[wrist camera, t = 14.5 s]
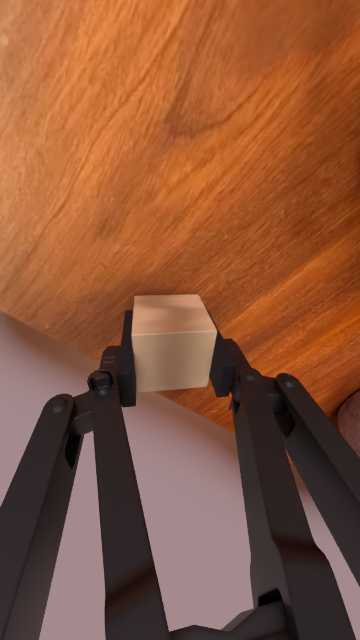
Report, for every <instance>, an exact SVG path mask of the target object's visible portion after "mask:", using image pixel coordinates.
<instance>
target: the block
mask: <svg viewBox="0 0 360 640" xmlns="http://www.w3.org/2000/svg"><path fill="white" fill-rule="evenodd" d="M216 335H217V329H216V327H215V325H214V323H213V321H212V320H211V318H210V316H209V314H208V312H207V310H206V308H205V306H204V304H203V302H202V300H201V298H200V297H199V295H198V294H193V295H149V296H134V308H133V321H132V334H131V336H132V346H133V353H134V363H135V373H136V386H137V393H144V392H154V391H165V390H175V389H186V388H196V387H207V385H208V380H209V374H210V368H211V363H212V357H213V351H214V346H215V341H216Z"/></svg>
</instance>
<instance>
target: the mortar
mask: <svg viewBox="0 0 360 640" xmlns="http://www.w3.org/2000/svg"><path fill="white" fill-rule="evenodd" d="M337 420H338V427H339V432H340V433H341V435H342V436H343V437H344V439H345V440H346V441H347V442H348V444H349V445H350V446H351V447H352V449H353V450H354V451H355V452H356V454H357V455H358V456H359V457H360V390H359V391H358V392H356V393H355V394H353V395H352V396H351V397H350V398H349V399H347V400H346V401H345V402H344V403H343V405H342V406H341V407H340V409H339V411H338V416H337Z"/></svg>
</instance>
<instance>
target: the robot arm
mask: <svg viewBox="0 0 360 640" xmlns="http://www.w3.org/2000/svg"><path fill="white" fill-rule="evenodd" d="M206 310H207V308H206ZM207 312H208V310H207ZM208 314H209V316H210V318H211V320H212V321H213V319H212V317H211V315H210V313H209V312H208ZM132 321H133V310H129V311H125V319H124V326H123V333H122V341H121V346H108V347H107V348H106V349H105V350H104V352H103V355H102V359H101V364H100V368H99V370H96V371H94V372H93V373H91V374H90V376H89V377H88V381H87V382H88V386H89V391H88V392H86V393H84V394H81V395H78V396H75V397H72V396H71V395H69V394H59V395H56V396H55V397H53V398H51V399H50V400H49V401H48V402H47V403H46V405H45V406H44V408H43V410H42V413H41V415H40V417H39V419H38V422H37V424H36V426H35V429H34V431H33V433H32V436H31V438H30V440H29V443H28V445H27V447H26V450H25V452H24V454H23V456H22V459H21V461H20V463H19V466H18V468H17V470H16V473H15V475H14V477H13V480H12V482H11V484H10V487H9V489H8V491H7V494H6V496H5V498H4V500H3V503H2V505H1V507H0V640H39V636H40V632H41V627H42V622H43V618H44V614H45V609H46V605H47V600H48V596H49V591H50V587H51V582H52V578H53V573H54V568H55V564H56V559H57V555H58V550H59V546H60V541H61V537H62V532H63V528H64V523H65V519H66V514H67V510H68V505H69V501H70V496H71V492H72V487H73V483H74V478H75V474H76V469H77V465H78V460H79V455H80V451H81V447H82V442H83V438H84V434H86V433H88V432H90V431H93V433H94V447H95V460H96V473H97V485H98V499H99V512H100V525H101V538H102V551H103V565H104V577H105V595H106V596H105V635H106V640H356V638H355V635H354V632H353V629H352V626H351V623H350V620H349V617H348V614H347V611H346V608H345V605H344V602H343V599H342V596H341V593H340V591H339V588H338V585H337V582H336V579H335V576H334V573H333V571H332V568H331V566H330V563H329V561H328V559H327V558H326V556H325V554H324V553H323V552H322V551H321V550H320V549H319V548H318V547H317V545H316V544H315V542H314V540H313V537H312V534H311V531H310V528H309V525H308V521H307V518H306V515H305V512H304V509H303V505H302V502H301V499H300V496H299V492H298V489H297V486H296V483H295V480H294V476H293V473H292V470H291V467H290V464H289V460H288V457H287V454H286V451H285V448H286V450H287V452H288V454H289V456H290V458H291V460H292V461H293V463H294V465H295V467H296V469H297V471H298V472H299V474H300V476H301V478H302V480H303V482H304V484H305V486H306V487H307V489H308V491H309V493H310V495H311V497H312V499H313V501H314V502H315V504H316V506H317V508H318V510H319V512H320V514H321V516H322V517H323V519H324V521H325V523H326V525H327V527H328V528H329V530H330V532H331V534H332V536H333V538H334V540H335V542H336V544H337V545H338V547H339V549H340V551H341V553H342V555H343V557H344V558H345V560H346V562H347V564H348V566H349V568H350V570H351V572H352V573H353V575H354V577H355V579H356V581H357V583H358V585H359V586H360V457H359V456H358V455H357V454H356V452H355V451H354V450H353V449H352V447H351V446H350V445H349V444H348V442H347V441H346V440H345V439H344V437H343V436H342V435H341V433H340V432H339V431H338V430H337V428H336V427H335V426H334V425H333V423H332V422H331V421H330V420H329V418H328V417H327V416H326V415H325V413H324V412H323V411H322V409H321V408H320V407H319V406H318V404H317V403H316V402H315V401H314V399H313V398H312V397H311V396H310V394H309V393H308V392H307V391H306V389H305V388H304V387H303V385H302V384H301V383H300V382H299V381H298V380H297V379H296V378H295V377H294V376H292V375H290V374H287V373H281V374H278V375H277V377H276V378H271V377H265V376H262V375H261V373H260V372H258V371H257V370H255V369H254V368H251V366H250V365H249V363H248V361H247V360H246V358H245V356H244V355H243V353H242V351H241V350H240V349H239V346H238V345H237V343H236V342H235V341H233V340H232V339H223V338H222V336H221V334H220V332H219V330H218V329H217V327H216V325H215V323H214V321H213V323H214V325H215V327H216V329H217V335H216V341H215V346H214V351H213V357H212V363H211V368H210V374H209V377H210V379H211V382H212V385H213V388H214V391H215V394H216V396H217V397H226V396H229V392H230V391H231V394H232V399H231V403H230V406H229V410H231V408H232V411H233V419H234V426H235V434H236V442H237V450H238V457H239V464H240V473H241V481H242V488H243V496H244V502H245V503H244V504H245V512H246V519H247V527H248V535H249V543H250V549H251V550H250V551H251V564H250V577H251V589H252V597H253V605H254V608H253V609H250V610H248V611H244V612H242V613H240V614H239V615H238V616H236V618H234V619H233V620H232V621H231V622H230V623H228V624H227V625H226V626H225V627H224V628H223V629H221V630H217V629H213V628H208V627H203V626H197V625H192V626H188V627H185V628H182V629H178V630H174V631H170V632H169V630H168V625H167V621H166V616H165V611H164V606H163V602H162V597H161V592H160V587H159V583H158V578H157V574H156V570H155V565H154V561H153V556H152V552H151V547H150V542H149V537H148V532H147V528H146V523H145V518H144V513H143V508H142V504H141V499H140V494H139V490H138V485H137V480H136V475H135V470H134V465H133V461H132V456H131V451H130V447H129V442H128V437H127V432H126V427H125V423H124V418H123V413H122V408H121V406H122V407H131V406H136V373H135V363H134V353H133V346H132V336H131V334H132ZM284 446H285V448H284Z"/></svg>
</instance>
